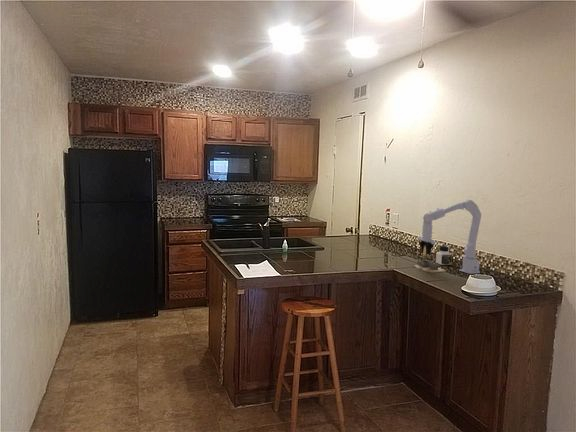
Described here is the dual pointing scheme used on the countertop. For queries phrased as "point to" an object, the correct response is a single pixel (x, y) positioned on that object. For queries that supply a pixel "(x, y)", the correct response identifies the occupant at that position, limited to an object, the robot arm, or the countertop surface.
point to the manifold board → (428, 266)
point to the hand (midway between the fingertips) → (425, 253)
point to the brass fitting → (425, 252)
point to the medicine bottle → (443, 256)
